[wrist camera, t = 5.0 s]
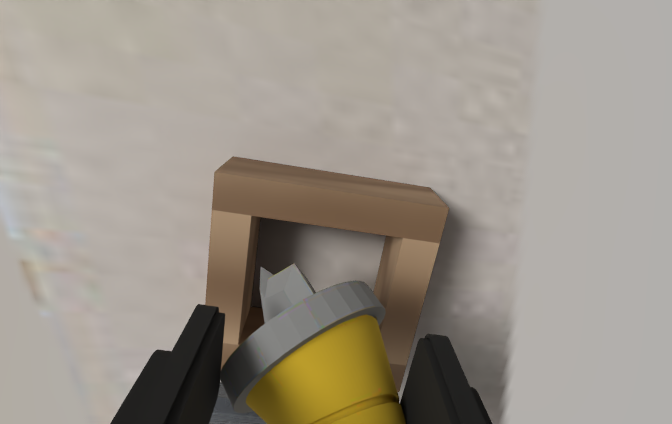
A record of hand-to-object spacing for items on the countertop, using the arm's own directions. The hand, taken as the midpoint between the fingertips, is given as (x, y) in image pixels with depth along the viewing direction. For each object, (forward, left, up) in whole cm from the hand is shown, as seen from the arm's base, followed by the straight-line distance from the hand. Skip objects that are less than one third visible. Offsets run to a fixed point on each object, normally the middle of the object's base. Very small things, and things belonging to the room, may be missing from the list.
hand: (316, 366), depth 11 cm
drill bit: (0, +1, -4) cm, 4 cm away
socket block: (+1, 0, -8) cm, 8 cm away
